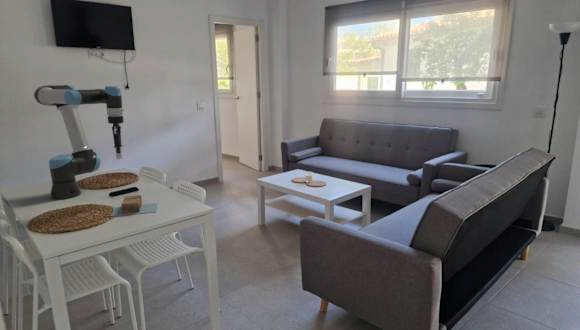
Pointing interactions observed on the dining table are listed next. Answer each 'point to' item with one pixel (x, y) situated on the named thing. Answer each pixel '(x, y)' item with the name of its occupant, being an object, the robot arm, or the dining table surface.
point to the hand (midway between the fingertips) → (119, 158)
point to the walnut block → (131, 204)
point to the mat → (144, 209)
